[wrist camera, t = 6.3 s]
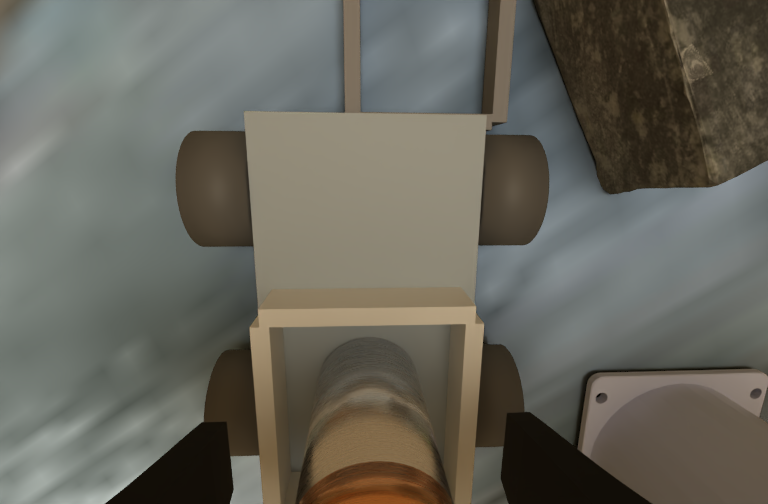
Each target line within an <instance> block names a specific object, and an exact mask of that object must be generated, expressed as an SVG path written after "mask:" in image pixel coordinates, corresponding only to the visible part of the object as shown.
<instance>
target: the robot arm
mask: <svg viewBox="0 0 768 504" xmlns="http://www.w3.org/2000/svg"><path fill="white" fill-rule="evenodd" d="M767 386H768V376H767V375H766V374H765V373H763V372H761V371H759V370H757V369H726V370H686V371H646V372H606V373H596V374H594V375H592V376H591V377H590V378H589V379H588V382H587V387H586V394H585V401H584V407H583V414H582V421H581V428H580V435H579V441H578V448H575V447H574V446H573V445H572V444H570V443H569V442H568V441H567V440H565V439H564V438H563V437H561V436H560V435H559V434H558V433H556V432H555V431H554V430H553V429H551V428H550V427H549V426H547V425H546V424H545V423H544V422H542V421H541V420H540V419H538V418H537V417H536V416H534V415H533V414H532V413H530V412H518V413H507V417H506V427H505V438H504V448H503V459H502V470H501V481H502V484H503V487H504V490H505V494H506V497H507V500H508V503H509V504H768V423H767V422H765V421H764V420H762V419H761V418H759V416H760V412H761V408H762V405H763V401H764V397H765V394H766V390H767ZM599 393H601V395H600V396H599V397H597V398H596V396H597V395H598V394H599ZM232 493H233V479H232V469H231V459H230V449H229V439H228V429H227V422H202V423H201V424H199V425H198V426H197V427H196V428H194V429H193V430H192V431H191V432H190V433H189V434H187V435H186V436H185V437H184V438H183V439H182V440H180V441H179V442H178V443H177V444H176V445H175V446H174V447H172V448H171V449H170V450H169V451H168V452H167V453H166V454H164V455H163V456H162V457H161V458H160V459H159V460H157V461H156V462H155V463H154V464H153V465H152V466H150V467H149V468H148V469H147V470H146V471H144V472H143V473H142V474H141V475H140V476H139V477H137V478H136V479H135V480H134V481H133V482H131V483H130V484H129V485H128V486H127V487H125V488H124V489H123V490H122V491H120V492H119V493H118V494H117V495H115V496H114V497H113V498H112V499H110V500H109V501H108V502H107V503H105V504H230V500H231V497H232Z"/></svg>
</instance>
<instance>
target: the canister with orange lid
mask: <svg viewBox="0 0 768 504" xmlns="http://www.w3.org/2000/svg"><path fill="white" fill-rule="evenodd" d="M295 504H453V501H452V497H451V494H450V490H449V487H448V483H447V479H446V476H445V472H444V469H443V465H442V461H441V458H440V454H439V451H438V447H437V443H436V440H435V436H434V432H433V429H432V425H431V422H430V418H429V414H428V411H427V407H426V404H425V400H424V396H423V393H422V389H421V385H420V382H419V378H418V375H417V371H416V367H415V365H414V363H413V361H412V359H411V357H410V356H409V355H408V354H407V352H406V351H405V350H403V349H402V348H401V347H400V346H398V345H397V344H395V343H393V342H391V341H388V340H386V339H382V338H377V337H362V338H357V339H353V340H350V341H347V342H345V343H343V344H341V345H340V346H338V347H337V348H336V349H334V350H333V351H332V352H331V353H330V354H329V355H328V356H327V358H326V359H325V361H324V362H323V364H322V366H321V369H320V372H319V376H318V381H317V387H316V392H315V398H314V403H313V408H312V414H311V419H310V425H309V430H308V436H307V441H306V447H305V452H304V458H303V463H302V469H301V474H300V479H299V485H298V490H297V496H296V501H295Z"/></svg>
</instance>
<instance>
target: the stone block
mask: <svg viewBox="0 0 768 504" xmlns="http://www.w3.org/2000/svg"><path fill="white" fill-rule="evenodd" d="M534 3H535V6H536V9H537V12H538V15H539V17H540V19H541V22H542V24H543V27H544V29H545V32H546V35H547V37H548V40H549V42H550V45H551V47H552V50H553V53H554V55H555V58H556V61H557V64H558V66H559V69H560V72H561V75H562V77H563V80H564V83H565V85H566V88H567V91H568V94H569V96H570V99H571V102H572V104H573V107H574V110H575V112H576V115H577V117H578V119H579V122H580V124H581V127H582V129H583V131H584V133H585V137H586V140H587V141H588V143H589V145H590V148H591V150H592V153H593V155H594V158H595V160H596V163H597V164H596V169H597V177H598V179H599V181H600V184H601V186H602V188H603V189H604V190H606V191H607V192H608V193H609V194H618V193H622V192H630V191H633V190H636V189H642V188H694V187H713V186H717V185H719V184H722V183H724V182H726V181H728V180H730V179H732V178H734V177H736V176H739V175H741V174H743V173H744V172H746V171H748V170H750V169H752V168H754V167H756V166H758V165H759V164H761V163H763V162H765V161H767V160H768V0H534Z"/></svg>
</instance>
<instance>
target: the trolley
mask: <svg viewBox="0 0 768 504" xmlns="http://www.w3.org/2000/svg"><path fill="white" fill-rule="evenodd" d="M343 8H344V76H345V113H321V112H259V111H244V120H245V131H192V132H190V133H189V134H188V135H187V136H186V137H185V138H184V140H183V142H182V144H181V146H180V150H179V153H178V158H177V165H176V193H177V201H178V206H179V211H180V214H181V218H182V221H183V224H184V226H185V228H186V230H187V232H188V234H189V236H190V237H191V239H192V240H193V241H194V242H195V243H196V244H198V245H200V246H203V247H218V246H254V258H255V271H256V285H257V299H258V316H257V317H256V319H255V320H254V322H253V323H252V325H251V326H250V328H249V329H250V342H251V349H245V350H226V351H224V352H223V353H222V354H221V355H220V357H219V358H218V360H217V362H216V364H215V366H214V369H213V371H212V374H211V378H210V381H209V385H208V390H207V395H206V402H205V412H204V422H227V429H228V439H229V449H230V456H251V455H260V468H261V480H262V493H263V504H295V501H296V496H297V490H298V485H299V479H300V474H301V469H302V463H303V458H304V452H305V447H306V441H307V436H308V430H309V425H310V419H311V414H312V408H313V403H314V398H315V392H316V387H317V381H318V376H319V372H320V369H321V366H322V364H323V362H324V361H325V359H326V358H327V356H328V355H329V354H330V353H331V352H332V351H333V350H334V349H336V348H337V347H338V346H340V345H341V344H343V343H345V342H347V341H350V340H353V339H357V338H362V337H377V338H382V339H386V340H388V341H391V342H393V343H395V344H397V345H398V346H400V347H401V348H402V349H403V350H405V351H406V352H407V354H408V355H409V356H410V357H411V359H412V361H413V363H414V365H415V367H416V371H417V375H418V378H419V382H420V385H421V389H422V393H423V396H424V400H425V404H426V407H427V411H428V414H429V418H430V422H431V425H432V429H433V432H434V436H435V440H436V443H437V447H438V451H439V454H440V458H441V461H442V465H443V469H444V472H445V476H446V479H447V483H448V487H449V490H450V494H451V497H452V501H453V504H471V495H472V481H473V468H474V455H475V447H498V446H504V438H505V427H506V417H507V413H518V412H524V399H523V391H522V386H521V381H520V377H519V373H518V370H517V367H516V364H515V362H514V359H513V357H512V355H511V354H510V352H509V351H508V349H507V348H506V347H505V346H503V345H501V344H493V345H483V334H484V323H483V321H482V320H481V319H480V318H479V316H478V315H477V314H476V305H475V304H474V299H475V284H476V269H477V254H478V245H526V244H528V243H530V242H531V241H532V240H533V239H534V238H535V236H536V235H537V233H538V231H539V229H540V227H541V225H542V222H543V220H544V216H545V213H546V208H547V203H548V195H549V170H548V163H547V158H546V154H545V151H544V149H543V146H542V145H541V143H540V141H539V140H538V139H537V138H536V137H534V136H532V135H486V131H489V130H492V126H495V125H499V124H502V123H506V122H507V113H508V100H509V87H510V75H511V62H512V49H513V37H514V24H515V11H516V0H489V10H488V25H487V41H486V57H485V72H484V88H483V103H482V114H450V113H389V112H360V0H343Z"/></svg>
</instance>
